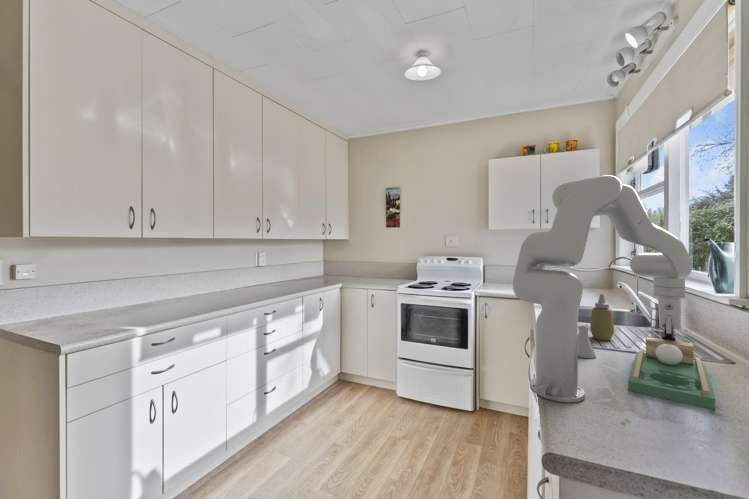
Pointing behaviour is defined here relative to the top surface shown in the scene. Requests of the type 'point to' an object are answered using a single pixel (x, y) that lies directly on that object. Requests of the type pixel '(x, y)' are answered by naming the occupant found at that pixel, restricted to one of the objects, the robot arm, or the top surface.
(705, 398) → the putting mat
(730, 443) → the top surface
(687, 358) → the tan wooden block
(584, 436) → the top surface
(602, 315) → the squeeze bottle
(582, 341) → the flask
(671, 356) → the ball
